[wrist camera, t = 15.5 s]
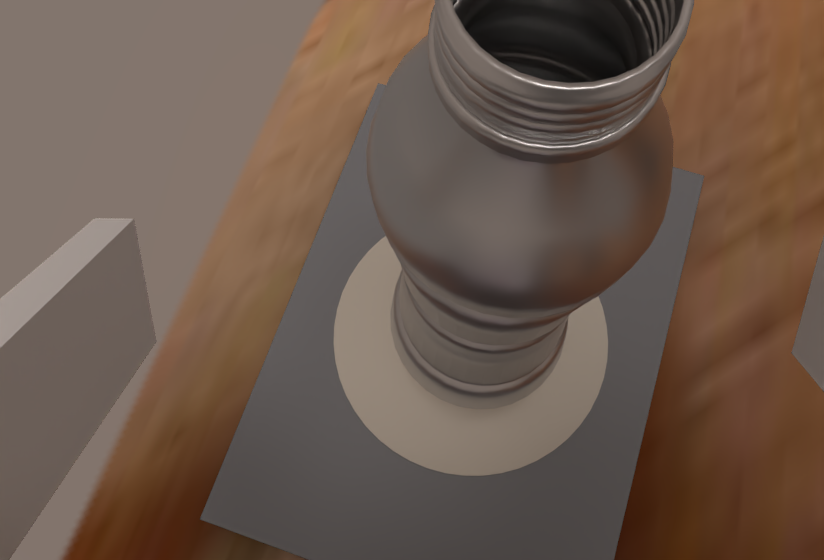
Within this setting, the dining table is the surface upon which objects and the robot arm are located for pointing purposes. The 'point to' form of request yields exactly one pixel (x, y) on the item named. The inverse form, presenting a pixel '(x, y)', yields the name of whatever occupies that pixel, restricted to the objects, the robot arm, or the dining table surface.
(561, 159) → the plastic bottle
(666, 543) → the dining table surface
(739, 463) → the dining table surface
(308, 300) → the board
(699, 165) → the dining table surface
